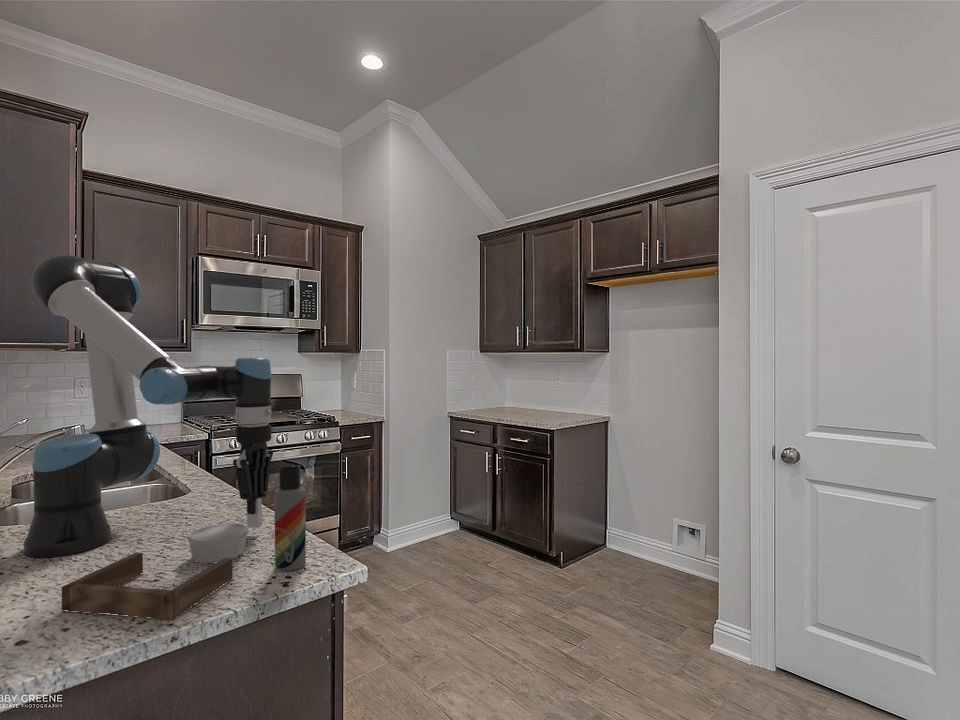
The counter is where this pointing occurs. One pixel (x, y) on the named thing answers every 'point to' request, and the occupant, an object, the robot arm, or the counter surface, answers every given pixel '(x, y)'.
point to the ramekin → (217, 542)
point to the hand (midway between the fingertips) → (254, 526)
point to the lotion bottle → (290, 520)
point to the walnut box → (140, 590)
